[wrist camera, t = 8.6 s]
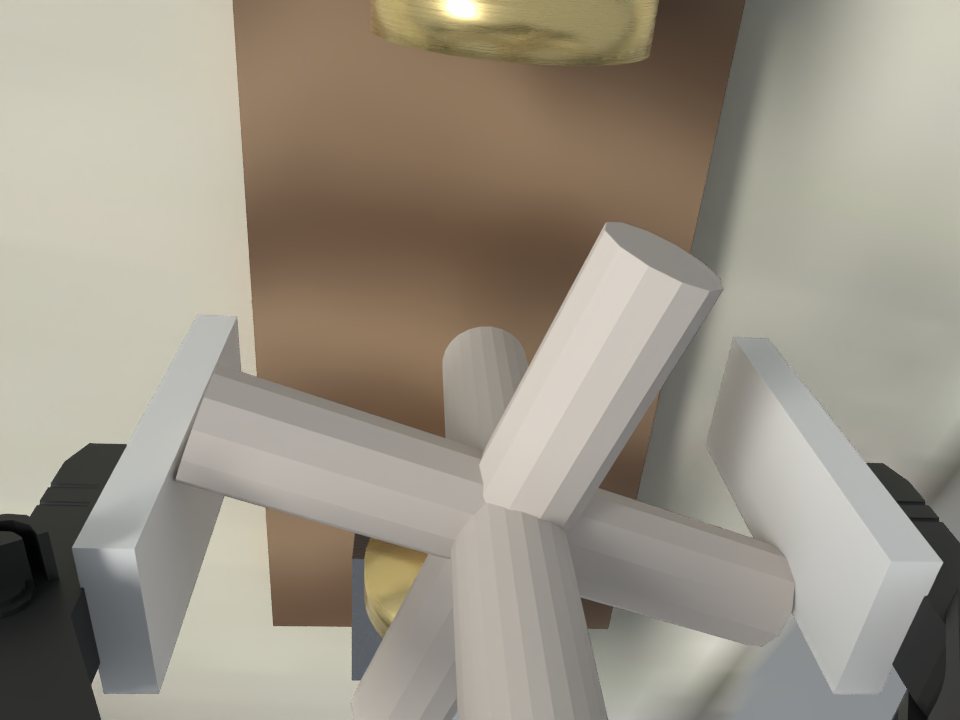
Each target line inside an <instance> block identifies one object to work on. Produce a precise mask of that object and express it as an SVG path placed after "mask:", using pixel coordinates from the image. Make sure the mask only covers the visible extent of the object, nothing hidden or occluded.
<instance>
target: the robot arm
mask: <svg viewBox="0 0 960 720" xmlns="http://www.w3.org/2000/svg"><path fill="white" fill-rule="evenodd" d="M218 364H219V365H222V366H225V367H228V368H231V369H234V370H237V371H240V372H241V362H240V349H239V336H238V322H237V316H216V315H197V316H196V318H195V320H194V322H193V324H192V326H191V327H190V329H189V331H188V333H187V335H186V337H185V339H184V340H183V342H182V344H181V346H180V348H179V350H178V352H177V353H176V355H175V357H174V359H173V361H172V363H171V365H170V366H169V368H168V370H167V372H166V374H165V376H164V378H163V379H162V381H161V383H160V385H159V387H158V389H157V391H156V392H155V394H154V396H153V398H152V400H151V402H150V404H149V405H148V407H147V409H146V411H145V413H144V415H143V417H142V418H141V420H140V422H139V424H138V426H137V428H136V430H135V431H134V433H133V435H132V437H131V439H130V441H129V443H128V444H94V443H89V444H88V445H87V446H85V447H84V448H82V449H81V450H80V451H78V452H77V453H76V454H74V455H73V456H72V457H70V458H69V459H68V460H66V461H65V462H64V463H63V465H62V467H61V468H60V470H59V471H58V473H57V474H56V476H55V478H54V479H53V481H52V482H51V487H50V488H48V489H47V490H46V492H45V493H44V495H43V497H42V498H41V500H40V505H37V506H36V508H35V509H34V511H33V512H32V514H31V516H30V517H29V516H27V515H17V514H2V515H0V720H101V718H100V714H99V711H98V708H97V704H96V701H95V697H94V694H93V691H92V687H91V684H92V681H93V679H94V677H95V674H96V672H97V670H98V669H99V674H100V678H101V683H102V687H103V692H104V694H159V692H160V689H161V686H162V683H163V680H164V677H165V674H166V671H167V668H168V665H169V662H170V659H171V656H172V653H173V650H174V647H175V644H176V641H177V638H178V635H179V632H180V629H181V626H182V623H183V620H184V617H185V614H186V611H187V608H188V605H189V602H190V598H191V595H192V592H193V589H194V586H195V583H196V580H197V577H198V574H199V571H200V568H201V565H202V562H203V559H204V556H205V553H206V550H207V547H208V544H209V541H210V538H211V535H212V532H213V529H214V526H215V523H216V520H217V517H218V514H219V511H220V508H221V505H222V502H223V499H224V495H220V494H217V493H213V492H209V491H206V490H202V489H199V488H195V487H192V486H188V485H185V484H181V483H178V482H176V476H177V472H178V469H179V466H180V462H181V459H182V456H183V453H184V450H185V447H186V444H187V442H188V439H189V436H190V433H191V430H192V427H193V425H194V422H195V419H196V416H197V414H198V411H199V408H200V406H201V403H202V400H203V398H204V395H205V393H206V390H207V388H208V385H209V383H210V380H211V378H212V375H213V373H214V371H215V369H216V367H217V365H218ZM706 447H707V449H708V451H709V453H710V455H711V457H712V459H713V461H714V463H715V464H716V466H717V468H718V470H719V472H720V474H721V476H722V478H723V480H724V482H725V484H726V486H727V488H728V490H729V492H730V494H731V496H732V498H733V499H734V501H735V503H736V505H737V507H738V509H739V511H740V513H741V515H742V517H743V519H744V521H745V523H746V525H747V527H748V529H749V531H750V533H751V534H752V536H753V538H754V539H757V540H760V541H763V542H766V543H769V544H772V545H775V546H776V547H777V548H778V549H779V550H780V551H781V552H782V553H783V555H784V556H785V557H786V558H787V560H788V563H789V566H790V569H791V572H792V575H793V578H794V581H795V589H794V597H793V605H792V614H793V616H794V618H795V620H796V622H797V624H798V626H799V628H800V630H801V632H802V634H803V636H804V637H805V639H806V641H807V643H808V645H809V647H810V649H811V651H812V653H813V655H814V657H815V659H816V661H817V663H818V664H819V667H820V669H821V671H822V672H823V674H824V676H825V678H826V680H827V682H828V684H829V686H830V688H831V690H832V692H833V694H881V692H882V690H883V688H884V686H885V684H886V681H887V679H888V677H889V675H890V673H891V671H892V669H893V667H894V668H895V670H896V671H897V673H898V675H899V676H900V678H901V680H902V681H903V683H904V684H905V686H906V688H907V690H906V692H905V694H904V696H903V698H902V700H901V702H900V704H899V706H898V708H897V710H896V713H895V714H894V716H893V718H892V720H960V543H959V541H958V540H957V539H956V538H955V537H954V536H953V534H952V533H951V532H950V531H949V529H948V528H947V527H946V526H945V525H944V523H943V522H939V517H938V516H937V515H936V514H935V513H934V511H933V510H932V509H931V508H930V506H926V505H925V500H924V499H923V498H922V497H921V496H920V494H919V493H918V492H917V491H916V490H915V488H914V487H913V486H912V485H911V484H910V482H909V481H907V480H906V479H905V478H903V477H902V476H900V475H899V474H897V473H896V472H895V471H893V470H892V469H890V468H889V467H888V466H886V465H885V464H883V463H865V461H864V460H863V459H862V458H861V456H860V455H859V454H858V452H857V451H856V450H855V449H854V447H853V446H852V445H851V444H850V442H849V441H848V440H847V438H846V437H845V436H844V435H843V433H842V432H841V431H840V429H839V428H838V427H837V426H836V424H835V423H834V422H833V420H832V419H831V418H830V417H829V415H828V414H827V413H826V411H825V410H824V409H823V408H822V406H821V405H820V404H819V403H818V401H817V400H816V399H815V397H814V396H813V395H812V394H811V392H810V391H809V390H808V388H807V387H806V386H805V385H804V383H803V382H802V381H801V379H800V378H799V377H798V376H797V374H796V373H795V372H794V371H793V369H792V368H791V367H790V365H789V364H788V363H787V362H786V360H785V359H784V358H783V356H782V355H781V354H780V353H779V351H778V350H777V349H776V347H775V346H774V345H773V344H772V342H771V341H770V340H769V339H764V338H740V337H733V341H732V345H731V349H730V352H729V356H728V360H727V364H726V368H725V372H724V375H723V379H722V383H721V387H720V391H719V395H718V399H717V402H716V406H715V410H714V414H713V418H712V422H711V425H710V429H709V433H708V437H707V441H706Z"/></svg>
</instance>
